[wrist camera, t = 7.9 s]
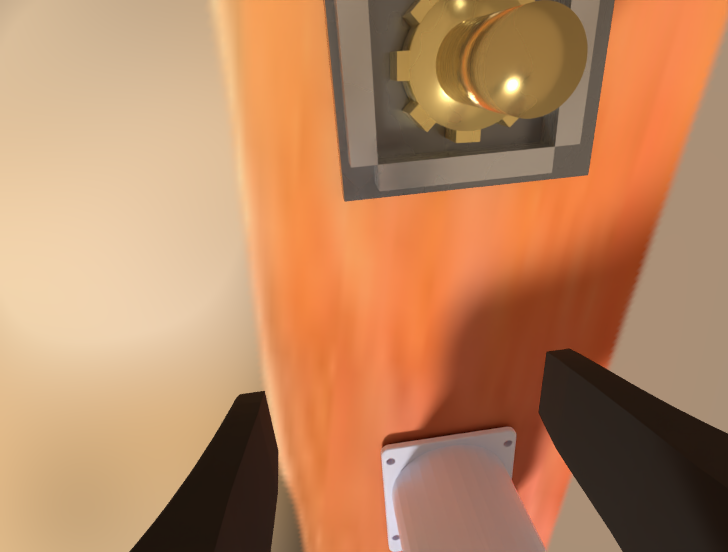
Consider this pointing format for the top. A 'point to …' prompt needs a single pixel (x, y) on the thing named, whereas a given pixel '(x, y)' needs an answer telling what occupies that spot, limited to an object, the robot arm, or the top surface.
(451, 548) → the robot arm
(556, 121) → the carrier
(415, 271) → the top surface
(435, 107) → the planet gear
